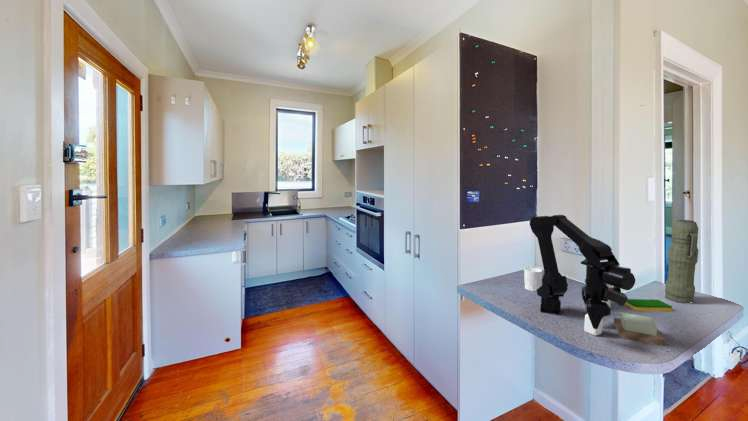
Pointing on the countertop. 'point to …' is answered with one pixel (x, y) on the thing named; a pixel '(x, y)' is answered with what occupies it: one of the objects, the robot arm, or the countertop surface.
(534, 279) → the white cup
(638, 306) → the dish sponge
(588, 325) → the pepper shaker
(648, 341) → the tower base block
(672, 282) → the thermos
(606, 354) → the countertop surface
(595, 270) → the robot arm
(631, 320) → the tower top block
